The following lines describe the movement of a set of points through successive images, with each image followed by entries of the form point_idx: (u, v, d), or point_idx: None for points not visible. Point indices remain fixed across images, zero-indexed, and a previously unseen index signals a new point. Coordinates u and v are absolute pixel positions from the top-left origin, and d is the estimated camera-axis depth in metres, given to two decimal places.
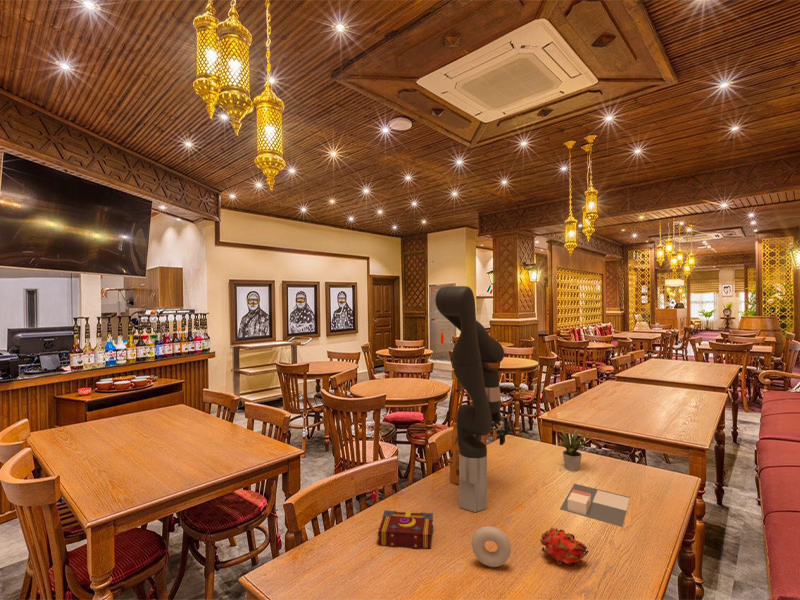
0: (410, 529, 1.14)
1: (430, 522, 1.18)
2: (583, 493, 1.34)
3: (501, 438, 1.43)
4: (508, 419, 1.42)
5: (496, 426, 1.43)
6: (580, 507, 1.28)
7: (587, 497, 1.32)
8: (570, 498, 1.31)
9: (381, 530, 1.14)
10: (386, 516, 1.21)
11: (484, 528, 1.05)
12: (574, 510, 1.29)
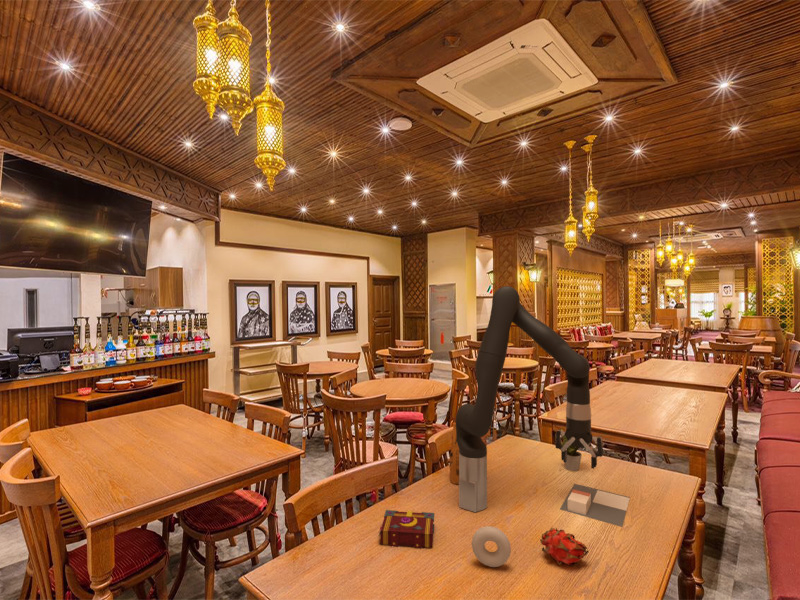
0: (412, 528, 1.15)
1: (431, 522, 1.18)
2: (583, 493, 1.34)
3: (593, 461, 1.29)
4: (601, 440, 1.29)
5: (588, 447, 1.29)
6: (580, 507, 1.28)
7: (587, 497, 1.32)
8: (570, 498, 1.31)
9: (382, 529, 1.14)
10: (387, 515, 1.21)
11: (484, 528, 1.05)
12: (574, 510, 1.29)
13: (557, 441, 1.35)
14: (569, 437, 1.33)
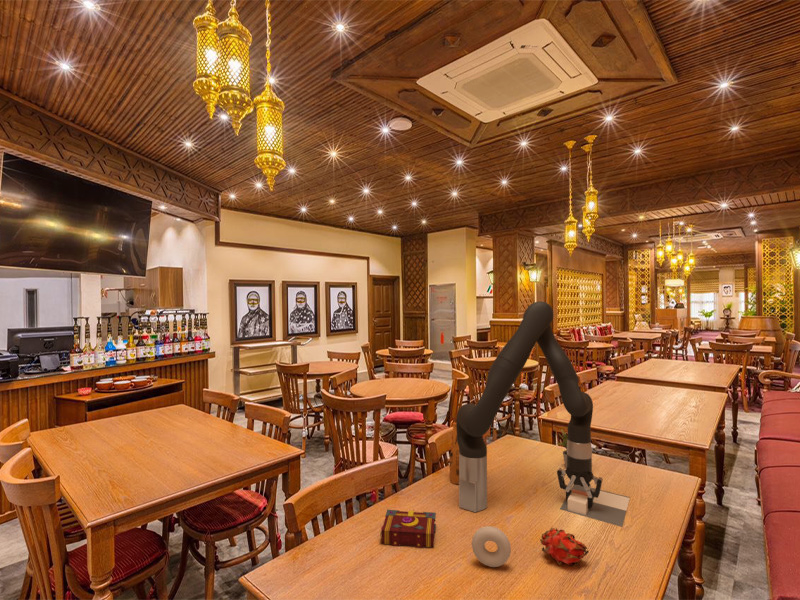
0: (413, 528, 1.15)
1: (433, 521, 1.18)
2: (583, 493, 1.34)
3: (589, 501, 1.30)
4: (601, 482, 1.29)
5: (586, 487, 1.29)
6: (580, 507, 1.28)
7: None
8: (570, 498, 1.31)
9: (384, 529, 1.14)
10: (389, 515, 1.22)
11: (484, 528, 1.05)
12: (574, 510, 1.29)
13: (560, 481, 1.35)
14: (570, 476, 1.33)
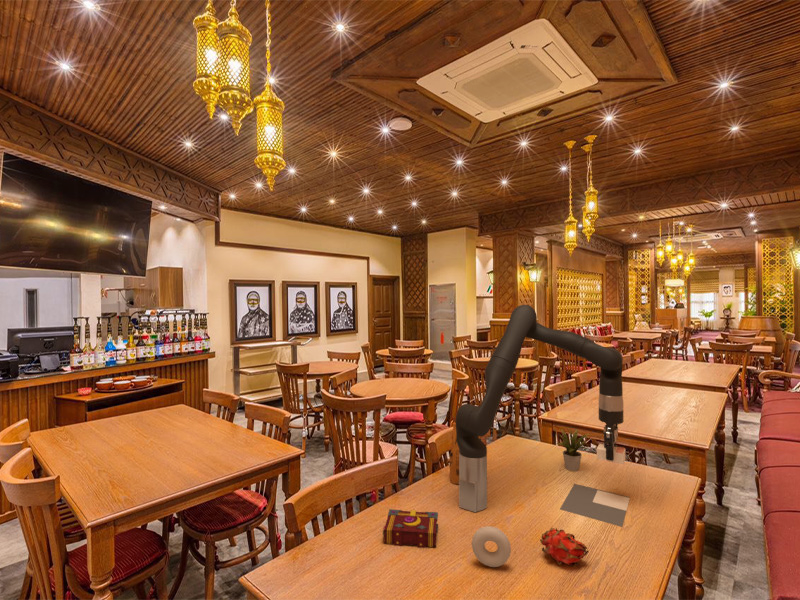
0: (415, 527, 1.15)
1: (435, 521, 1.18)
2: (619, 450, 1.35)
3: (606, 452, 1.35)
4: (608, 435, 1.31)
5: None
6: None
7: None
8: (602, 444, 1.40)
9: (386, 529, 1.14)
10: (391, 514, 1.22)
11: (484, 528, 1.05)
12: None
13: None
14: None
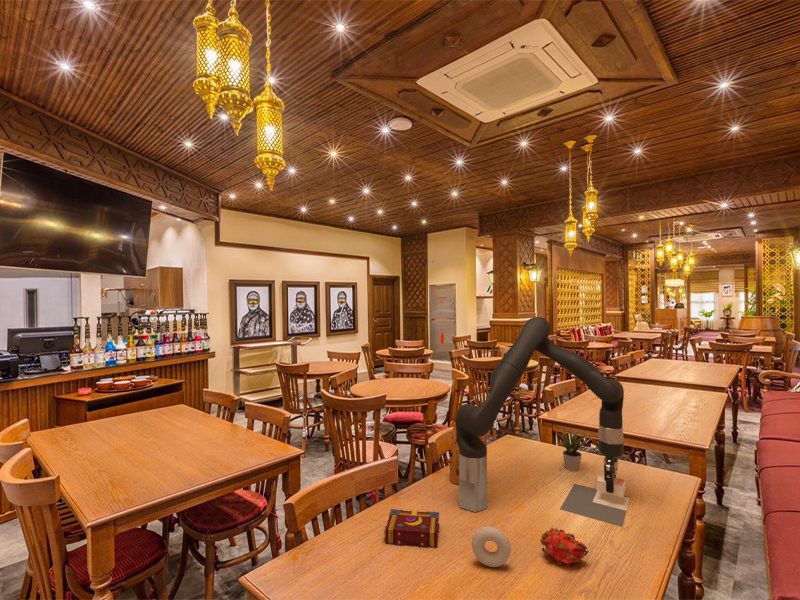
0: (417, 527, 1.15)
1: (436, 521, 1.18)
2: (619, 482, 1.35)
3: (606, 484, 1.35)
4: (608, 468, 1.31)
5: None
6: None
7: None
8: (602, 475, 1.40)
9: (387, 528, 1.15)
10: (393, 514, 1.22)
11: (484, 528, 1.05)
12: None
13: None
14: None
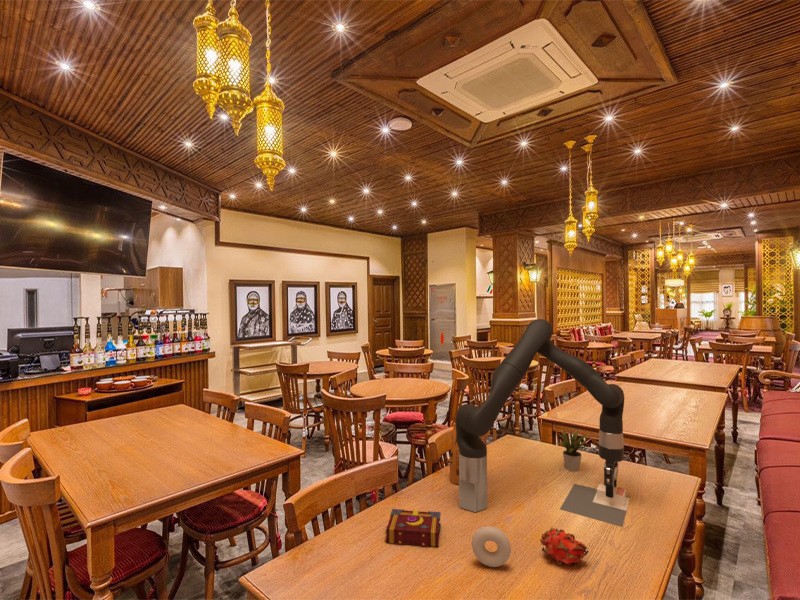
0: (418, 527, 1.15)
1: (437, 521, 1.18)
2: (619, 492, 1.35)
3: (606, 488, 1.34)
4: (608, 471, 1.31)
5: None
6: None
7: None
8: (602, 484, 1.40)
9: (388, 528, 1.15)
10: (394, 514, 1.22)
11: (484, 528, 1.05)
12: None
13: None
14: None
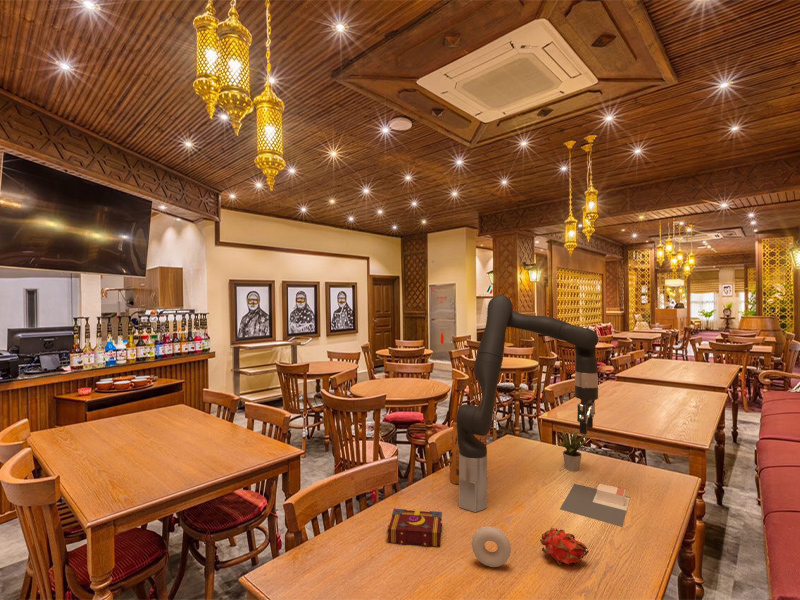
0: (419, 527, 1.15)
1: (439, 520, 1.18)
2: (619, 492, 1.35)
3: (580, 425, 1.39)
4: (581, 407, 1.37)
5: None
6: None
7: (612, 493, 1.34)
8: (602, 484, 1.40)
9: (390, 528, 1.15)
10: (395, 514, 1.22)
11: (484, 528, 1.05)
12: None
13: None
14: None
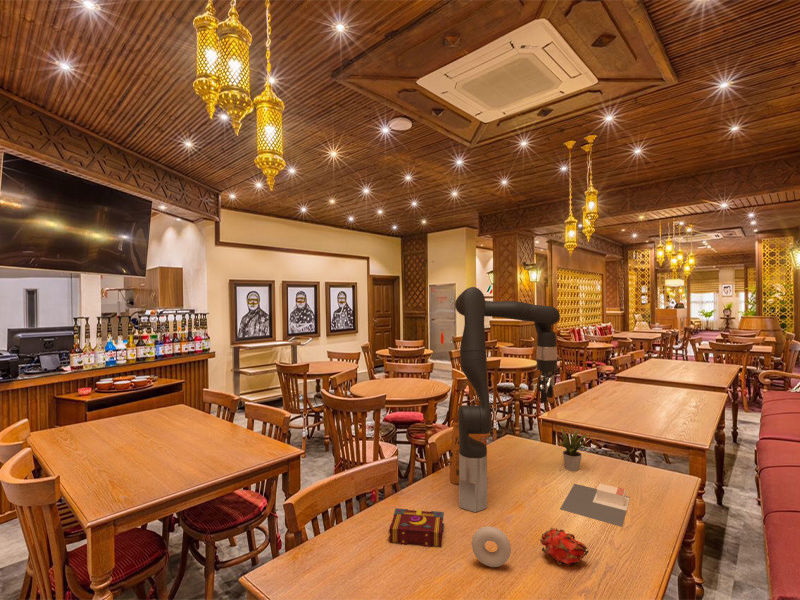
0: (421, 527, 1.15)
1: (441, 520, 1.18)
2: (619, 492, 1.35)
3: (541, 395, 1.52)
4: (542, 378, 1.50)
5: None
6: None
7: (612, 493, 1.34)
8: (602, 484, 1.40)
9: (392, 527, 1.15)
10: (397, 513, 1.22)
11: (484, 528, 1.05)
12: None
13: None
14: None
